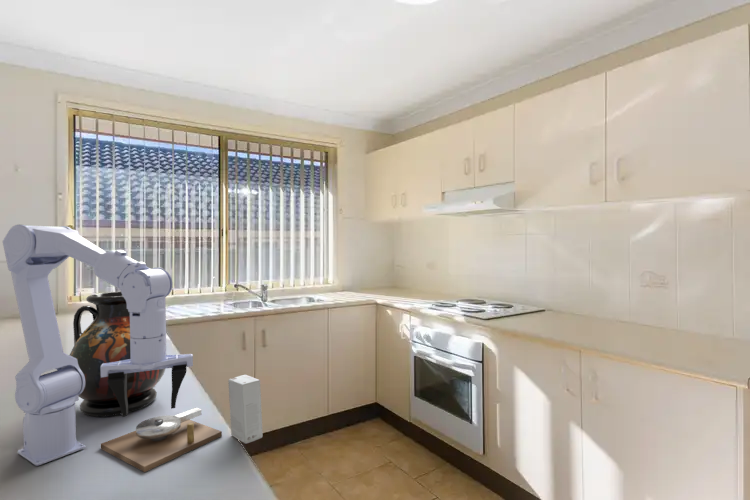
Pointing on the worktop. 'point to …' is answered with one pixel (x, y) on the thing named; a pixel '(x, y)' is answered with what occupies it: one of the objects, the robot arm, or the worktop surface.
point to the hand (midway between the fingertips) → (149, 410)
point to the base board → (160, 445)
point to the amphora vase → (109, 357)
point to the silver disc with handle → (164, 424)
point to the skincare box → (245, 408)
